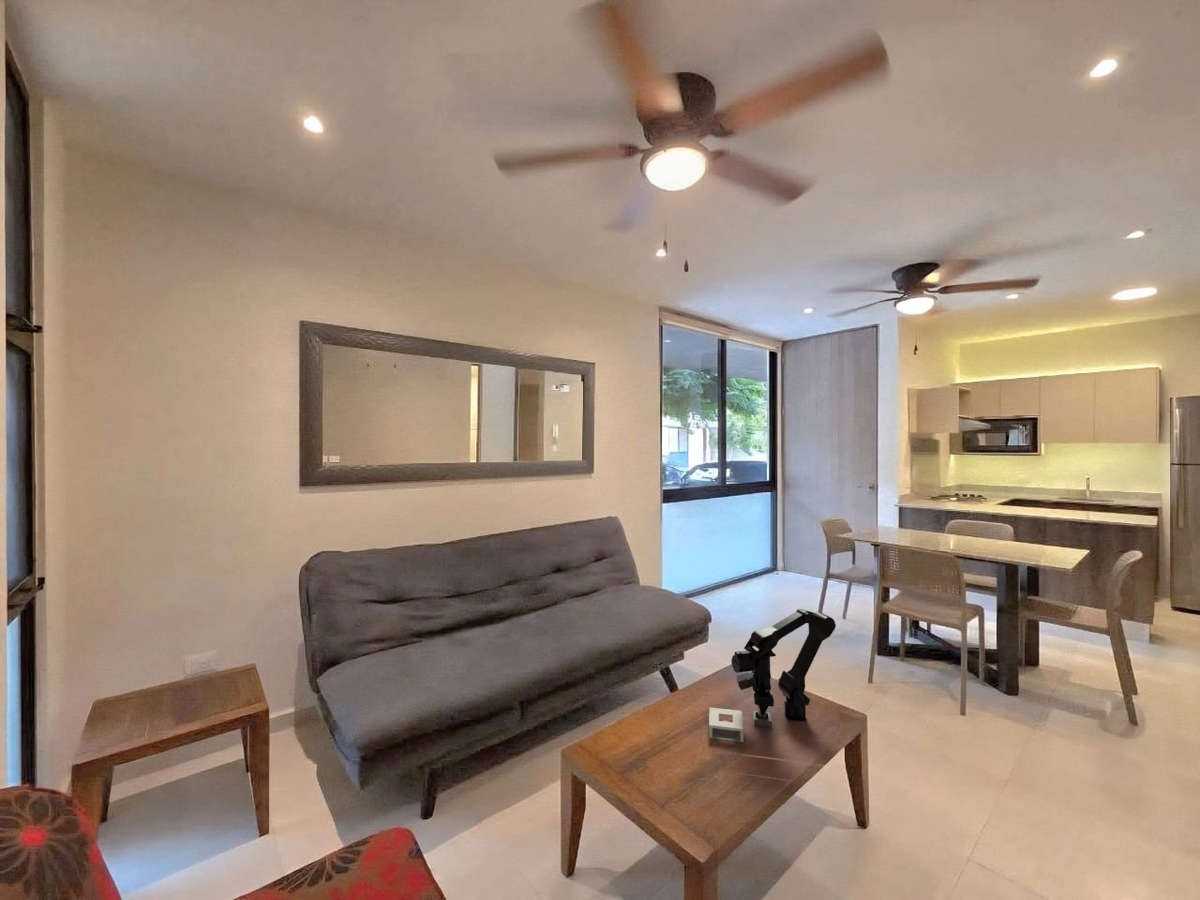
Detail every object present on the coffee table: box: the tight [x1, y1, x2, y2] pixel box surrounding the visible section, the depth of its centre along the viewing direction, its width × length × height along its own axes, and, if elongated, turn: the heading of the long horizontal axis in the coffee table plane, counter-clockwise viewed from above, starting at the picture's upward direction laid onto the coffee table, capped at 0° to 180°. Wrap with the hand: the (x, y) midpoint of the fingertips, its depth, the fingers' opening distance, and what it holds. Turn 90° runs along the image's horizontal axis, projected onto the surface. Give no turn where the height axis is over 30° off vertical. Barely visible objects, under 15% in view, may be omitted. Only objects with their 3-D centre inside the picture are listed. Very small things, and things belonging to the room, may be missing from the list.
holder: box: [752, 710, 773, 728], centre depth 174 cm, size 6×6×2 cm
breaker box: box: [708, 707, 744, 743], centre depth 169 cm, size 11×11×5 cm
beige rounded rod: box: [757, 705, 767, 720], centre depth 174 cm, size 3×3×8 cm
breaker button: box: [720, 718, 731, 722], centre depth 169 cm, size 3×3×2 cm
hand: (762, 712), depth 174 cm, fingers closed on beige rounded rod, 3 cm apart
